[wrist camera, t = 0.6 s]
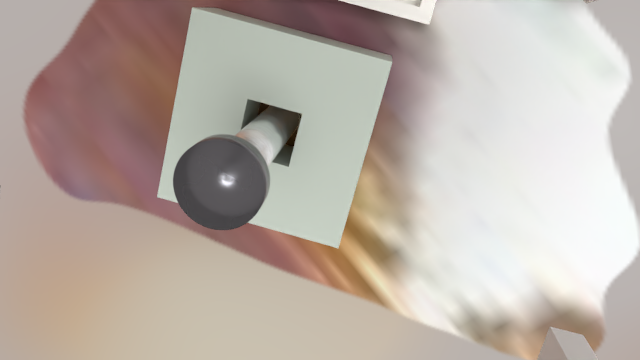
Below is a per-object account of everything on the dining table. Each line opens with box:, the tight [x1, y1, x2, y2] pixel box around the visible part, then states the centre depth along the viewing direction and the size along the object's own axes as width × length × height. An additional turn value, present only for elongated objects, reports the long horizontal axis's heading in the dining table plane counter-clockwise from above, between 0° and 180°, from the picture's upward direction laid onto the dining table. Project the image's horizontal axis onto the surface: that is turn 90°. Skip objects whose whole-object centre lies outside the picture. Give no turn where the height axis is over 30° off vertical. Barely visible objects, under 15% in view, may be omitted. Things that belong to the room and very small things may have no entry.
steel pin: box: [173, 105, 300, 230], centre depth 33 cm, size 4×4×16 cm
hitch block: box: [157, 7, 392, 248], centre depth 38 cm, size 12×12×5 cm
